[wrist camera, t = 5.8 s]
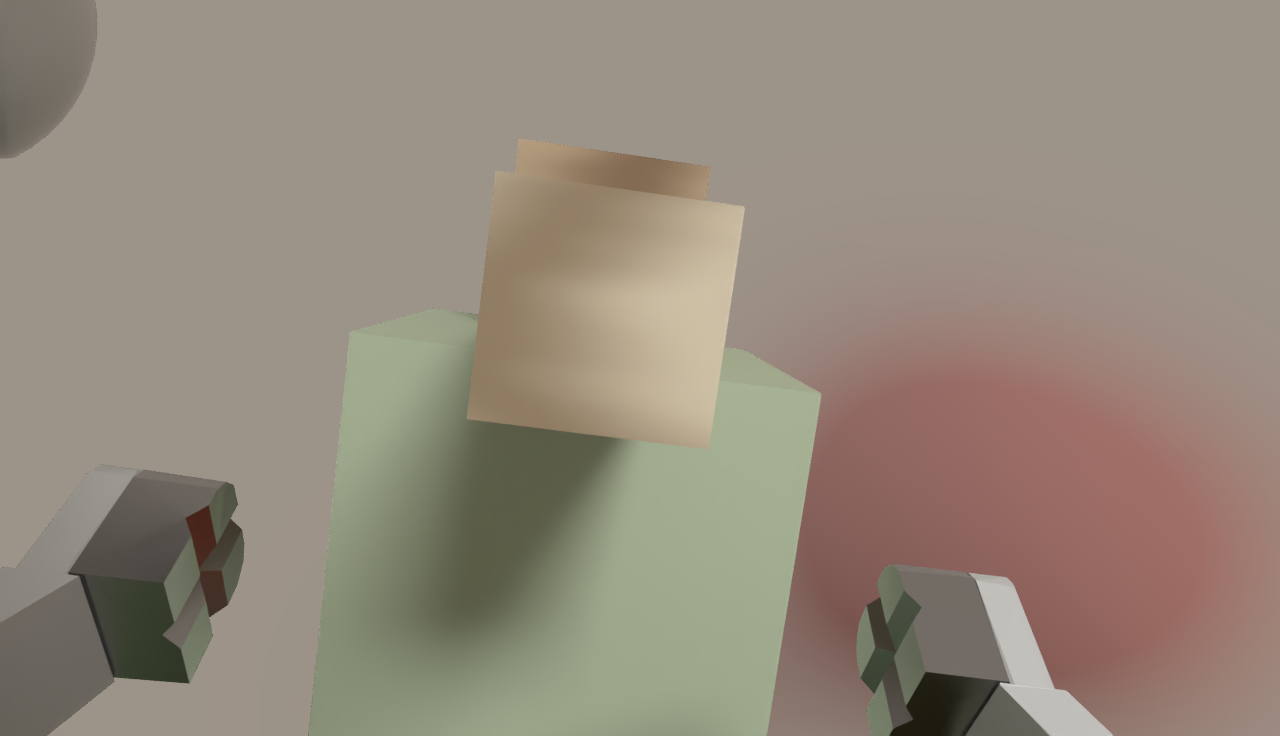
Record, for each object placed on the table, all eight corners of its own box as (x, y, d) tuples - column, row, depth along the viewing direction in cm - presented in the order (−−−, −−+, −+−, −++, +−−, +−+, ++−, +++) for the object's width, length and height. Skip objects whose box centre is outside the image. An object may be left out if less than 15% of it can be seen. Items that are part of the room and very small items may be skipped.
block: (383, 409, 11) (430, -18, 10) (512, 319, 29) (531, 160, 28) (787, 459, 11) (852, 50, 11) (667, 339, 29) (689, 183, 29)
